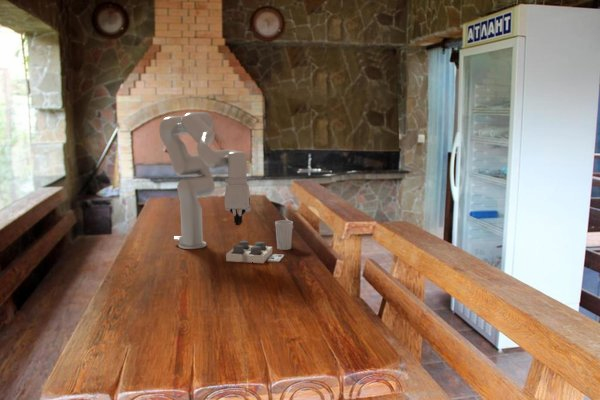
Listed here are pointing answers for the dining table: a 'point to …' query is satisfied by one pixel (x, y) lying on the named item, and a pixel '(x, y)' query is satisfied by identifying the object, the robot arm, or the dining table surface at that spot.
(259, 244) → the button
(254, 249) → the button camera
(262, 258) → the board
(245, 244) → the button
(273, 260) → the card
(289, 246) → the cup
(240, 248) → the camera button
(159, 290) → the dining table surface
